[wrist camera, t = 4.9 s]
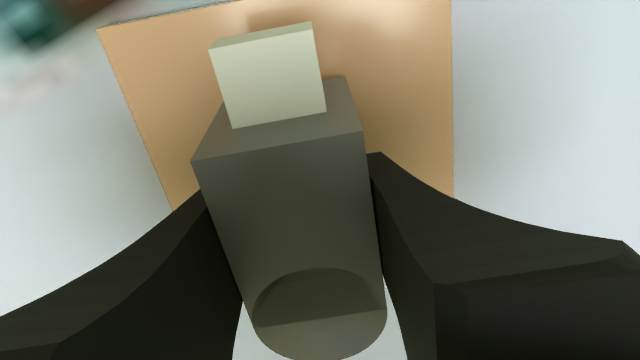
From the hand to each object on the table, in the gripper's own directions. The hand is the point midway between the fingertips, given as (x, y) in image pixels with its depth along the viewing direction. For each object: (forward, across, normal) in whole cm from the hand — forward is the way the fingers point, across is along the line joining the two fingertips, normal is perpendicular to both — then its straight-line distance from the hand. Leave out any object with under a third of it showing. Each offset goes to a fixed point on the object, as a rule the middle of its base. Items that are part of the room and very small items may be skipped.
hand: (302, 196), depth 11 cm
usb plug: (+2, 0, 0) cm, 2 cm away
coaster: (+3, 0, 0) cm, 3 cm away
